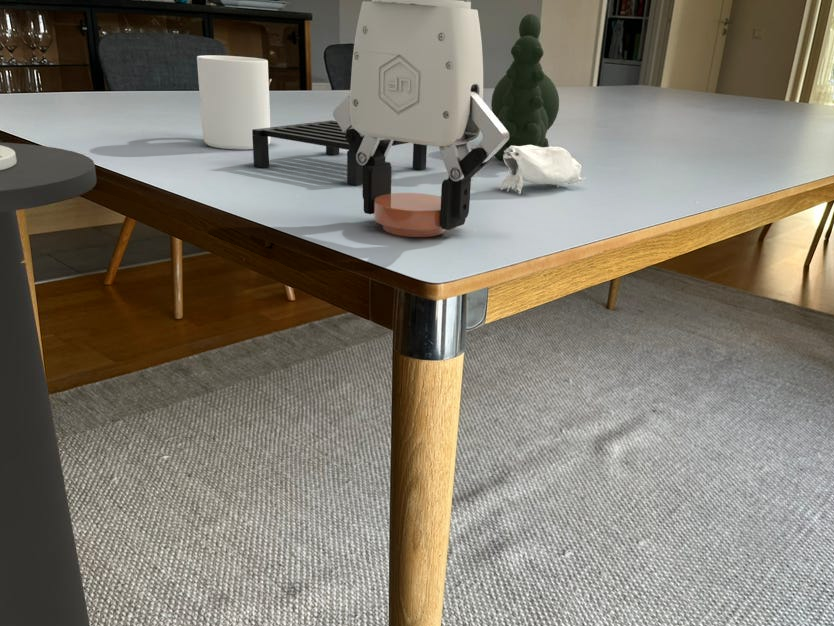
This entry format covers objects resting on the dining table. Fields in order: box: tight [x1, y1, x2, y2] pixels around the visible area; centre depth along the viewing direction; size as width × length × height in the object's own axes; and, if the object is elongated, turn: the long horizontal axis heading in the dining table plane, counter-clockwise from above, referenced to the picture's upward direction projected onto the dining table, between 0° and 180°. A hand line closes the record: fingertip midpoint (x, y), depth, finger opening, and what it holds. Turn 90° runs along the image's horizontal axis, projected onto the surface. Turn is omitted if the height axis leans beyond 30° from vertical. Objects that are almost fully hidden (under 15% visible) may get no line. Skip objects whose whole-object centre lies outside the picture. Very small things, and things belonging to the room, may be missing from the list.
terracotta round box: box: [373, 192, 445, 238], centre depth 65 cm, size 7×7×2 cm
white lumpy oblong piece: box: [499, 145, 587, 195], centre depth 84 cm, size 5×7×10 cm
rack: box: [252, 119, 428, 186], centre depth 88 cm, size 14×14×4 cm
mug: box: [196, 54, 272, 151], centre depth 97 cm, size 12×8×10 cm
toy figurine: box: [490, 13, 560, 161], centre depth 101 cm, size 9×19×25 cm
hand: (414, 217), depth 65 cm, fingers closed on terracotta round box, 6 cm apart
